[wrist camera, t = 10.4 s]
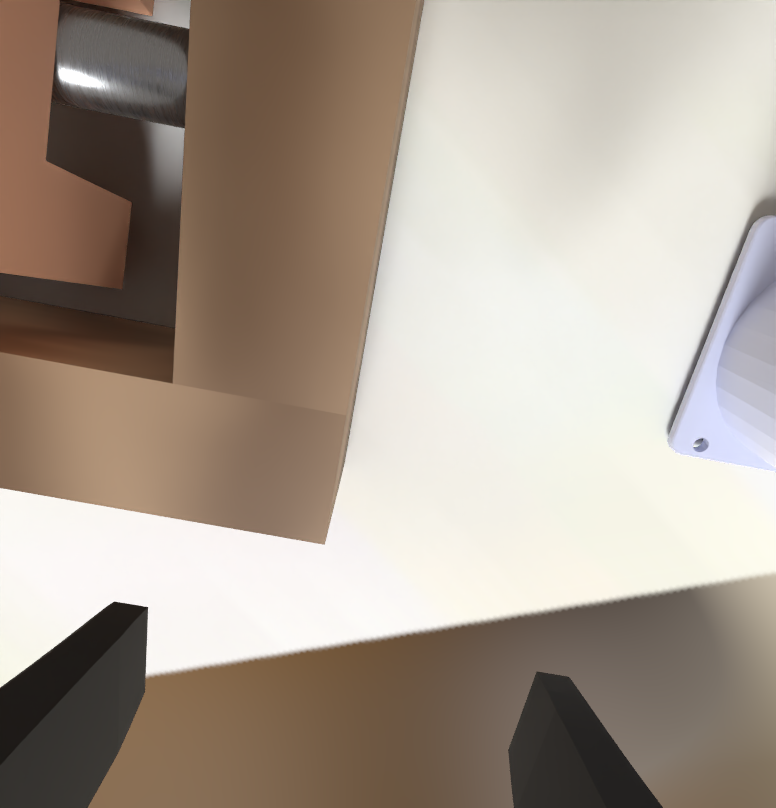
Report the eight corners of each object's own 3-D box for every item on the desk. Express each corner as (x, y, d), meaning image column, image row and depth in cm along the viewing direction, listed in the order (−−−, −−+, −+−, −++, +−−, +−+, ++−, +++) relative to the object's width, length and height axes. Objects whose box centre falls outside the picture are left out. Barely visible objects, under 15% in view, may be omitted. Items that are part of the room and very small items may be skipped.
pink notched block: (163, -84, 15) (10, -365, 9) (122, 289, 16) (-34, 268, 10) (33, -111, 14) (-213, -414, 9) (3, 267, 16) (-225, 233, 10)
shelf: (489, -375, 13) (537, -724, 8) (343, 465, 20) (324, 544, 15) (-307, -559, 12) (-769, -1053, 7) (-150, 376, 20) (-327, 430, 15)
